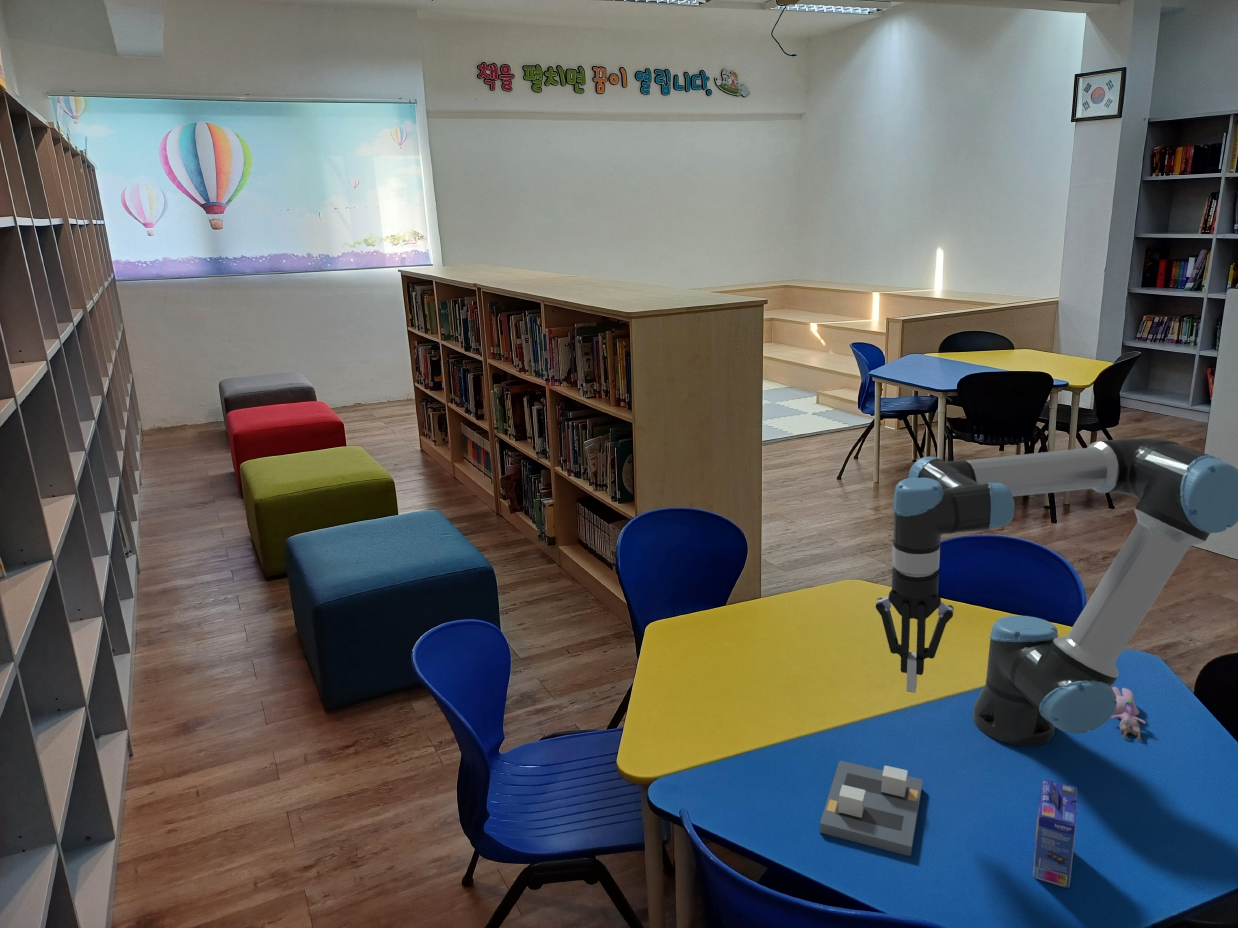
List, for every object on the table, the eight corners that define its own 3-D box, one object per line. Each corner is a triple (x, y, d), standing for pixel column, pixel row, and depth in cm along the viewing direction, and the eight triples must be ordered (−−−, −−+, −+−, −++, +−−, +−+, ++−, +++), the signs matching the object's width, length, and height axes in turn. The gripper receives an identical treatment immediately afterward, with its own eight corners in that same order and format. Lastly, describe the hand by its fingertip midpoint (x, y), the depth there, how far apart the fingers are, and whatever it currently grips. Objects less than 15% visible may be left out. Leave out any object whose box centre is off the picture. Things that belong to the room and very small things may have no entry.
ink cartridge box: (1033, 837, 145) (1043, 765, 140) (1070, 847, 142) (1081, 774, 138) (1030, 878, 136) (1040, 803, 132) (1069, 889, 134) (1081, 813, 129)
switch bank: (921, 788, 157) (922, 778, 156) (910, 856, 142) (911, 846, 141) (838, 769, 163) (839, 760, 162) (819, 832, 148) (820, 822, 147)
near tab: (864, 806, 150) (865, 789, 149) (861, 817, 147) (862, 800, 146) (841, 800, 152) (842, 784, 150) (838, 811, 149) (839, 795, 148)
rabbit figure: (1148, 747, 168) (1134, 695, 180) (1154, 725, 165) (1139, 674, 178) (1112, 742, 170) (1101, 691, 182) (1117, 719, 167) (1105, 669, 180)
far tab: (906, 786, 154) (907, 770, 153) (904, 797, 152) (905, 780, 151) (883, 781, 156) (884, 765, 155) (881, 791, 153) (882, 775, 152)
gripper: (957, 562, 146) (951, 682, 153) (878, 555, 151) (876, 671, 158) (955, 581, 139) (949, 705, 147) (872, 573, 144) (871, 693, 152)
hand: (911, 687), depth 153 cm, fingers closed
